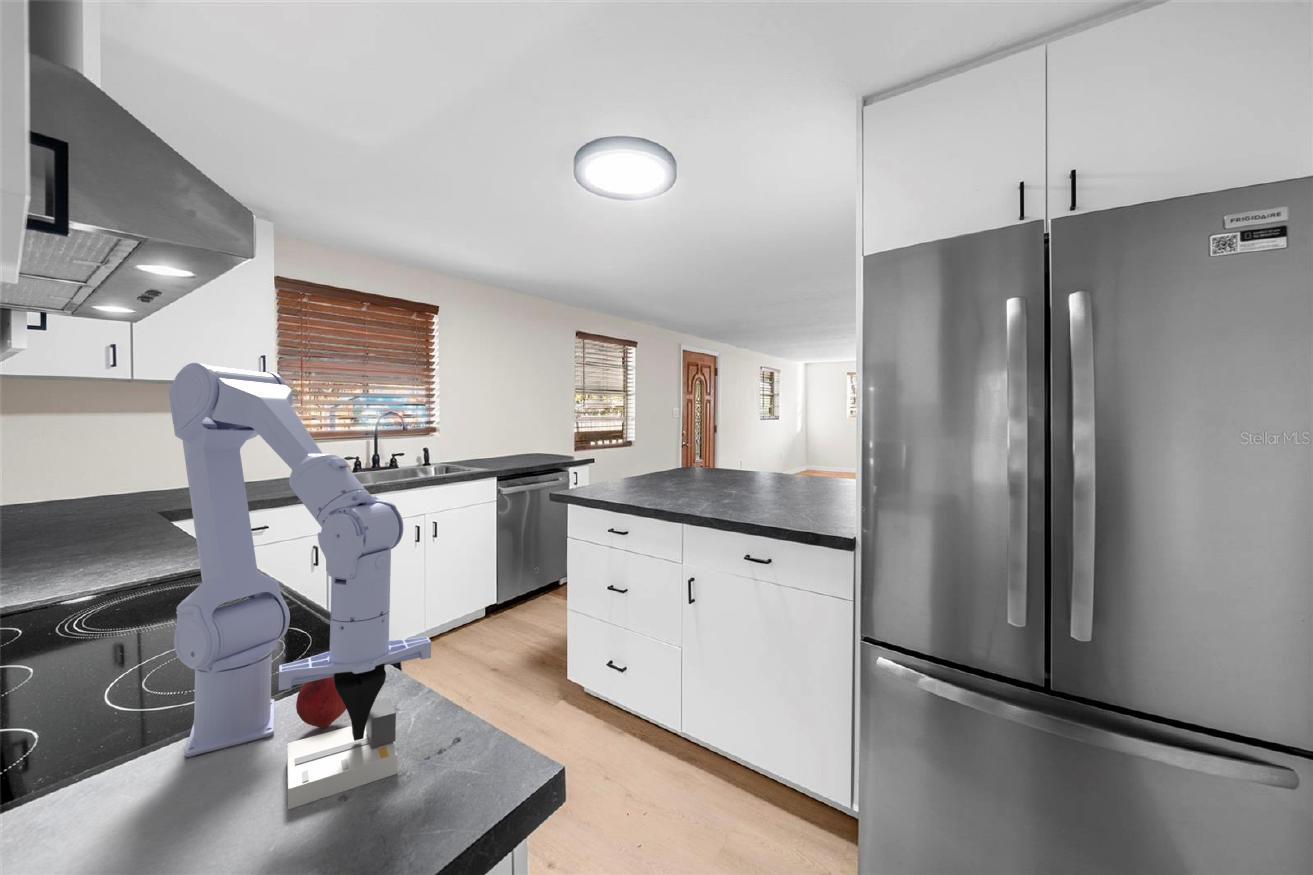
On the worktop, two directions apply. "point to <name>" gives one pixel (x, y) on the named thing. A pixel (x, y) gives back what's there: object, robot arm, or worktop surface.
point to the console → (334, 765)
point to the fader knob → (381, 723)
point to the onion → (319, 703)
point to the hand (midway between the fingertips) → (358, 735)
